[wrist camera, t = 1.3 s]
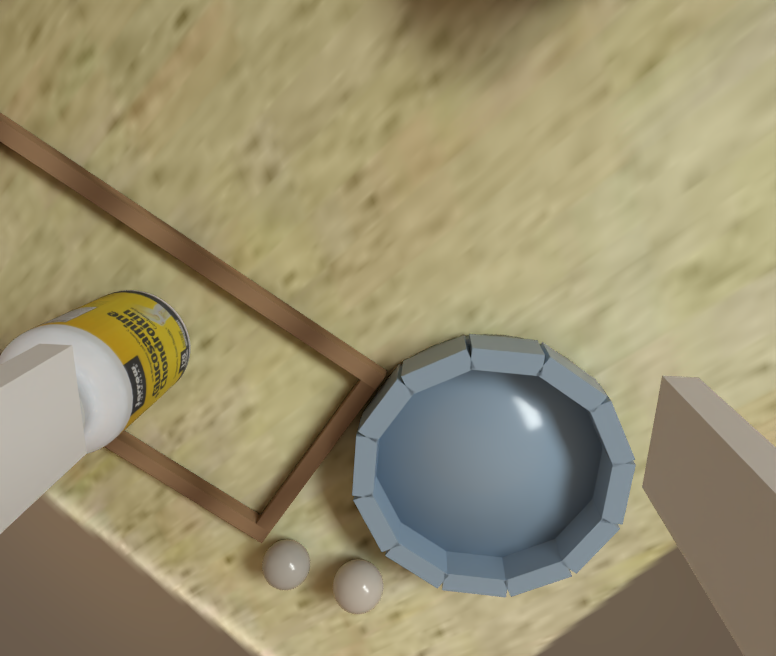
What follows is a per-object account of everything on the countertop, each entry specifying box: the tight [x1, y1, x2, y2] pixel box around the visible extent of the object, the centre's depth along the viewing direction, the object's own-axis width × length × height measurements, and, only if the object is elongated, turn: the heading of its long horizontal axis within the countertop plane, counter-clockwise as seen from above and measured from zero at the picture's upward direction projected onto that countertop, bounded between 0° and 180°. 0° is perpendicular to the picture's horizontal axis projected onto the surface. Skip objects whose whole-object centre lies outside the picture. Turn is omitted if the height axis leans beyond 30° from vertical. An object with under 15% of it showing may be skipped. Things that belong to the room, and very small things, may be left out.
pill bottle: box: [0, 290, 190, 454], centre depth 31 cm, size 6×6×12 cm
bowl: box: [352, 334, 635, 597], centre depth 36 cm, size 15×15×3 cm
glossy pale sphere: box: [262, 539, 310, 590], centre depth 39 cm, size 3×3×3 cm
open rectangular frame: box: [0, 113, 387, 543], centre depth 36 cm, size 26×14×1 cm, turn 56°
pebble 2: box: [333, 559, 383, 614], centre depth 39 cm, size 3×3×3 cm
